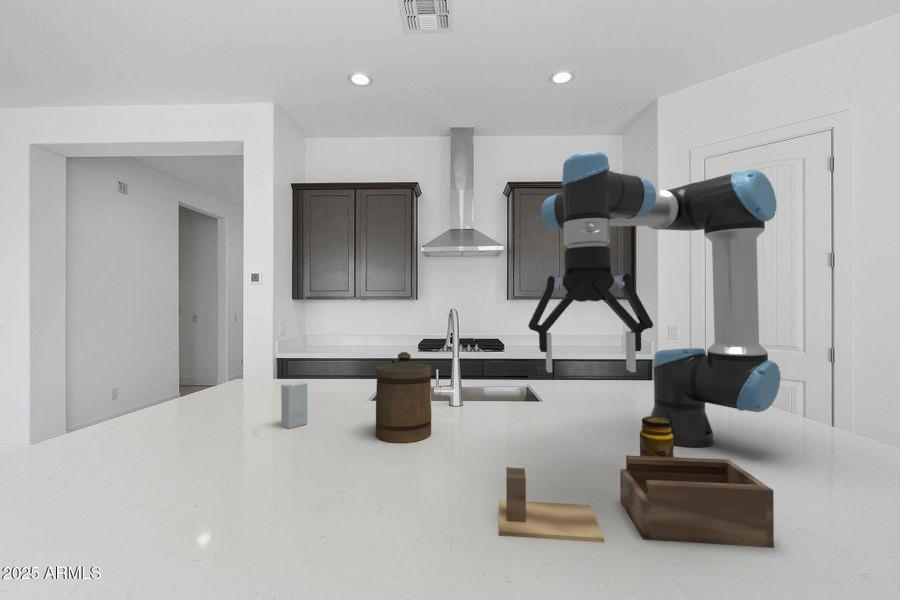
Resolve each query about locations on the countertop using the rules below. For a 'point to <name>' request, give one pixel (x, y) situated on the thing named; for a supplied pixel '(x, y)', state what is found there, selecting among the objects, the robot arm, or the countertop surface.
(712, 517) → the walnut box
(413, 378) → the wooden container
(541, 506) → the cover plate
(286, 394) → the skincare box
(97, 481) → the countertop surface
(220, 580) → the countertop surface
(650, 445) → the condiment
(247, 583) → the countertop surface
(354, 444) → the countertop surface
